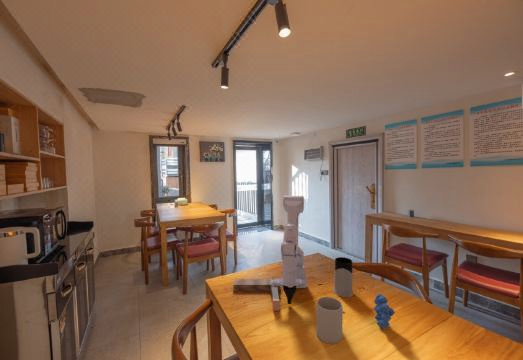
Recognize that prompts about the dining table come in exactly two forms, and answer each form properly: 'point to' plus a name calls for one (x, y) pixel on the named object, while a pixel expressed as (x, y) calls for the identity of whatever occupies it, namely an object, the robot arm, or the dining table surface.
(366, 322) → the dining table surface
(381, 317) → the grapes
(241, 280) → the rail
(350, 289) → the glass holder
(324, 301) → the mug
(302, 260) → the robot arm
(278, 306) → the stool leg
